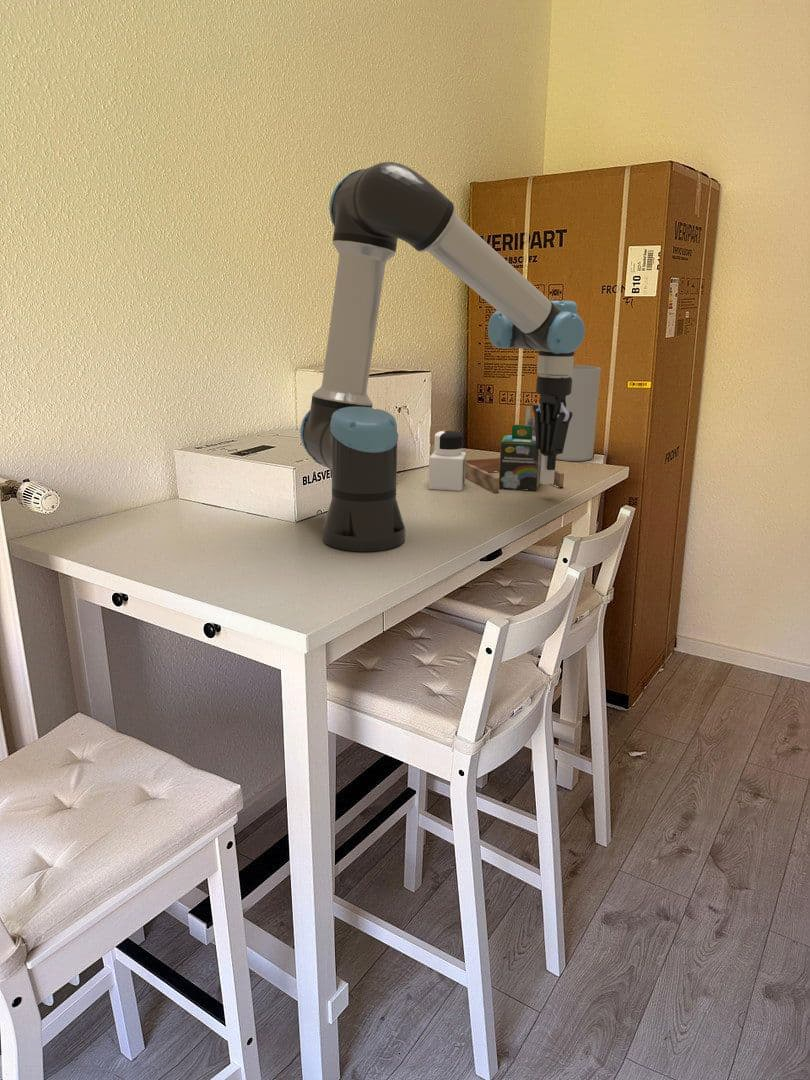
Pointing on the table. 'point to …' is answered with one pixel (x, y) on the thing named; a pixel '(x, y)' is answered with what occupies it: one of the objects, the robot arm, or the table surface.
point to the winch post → (530, 421)
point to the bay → (481, 467)
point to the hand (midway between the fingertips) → (546, 483)
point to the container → (447, 462)
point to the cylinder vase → (581, 414)
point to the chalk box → (519, 460)
